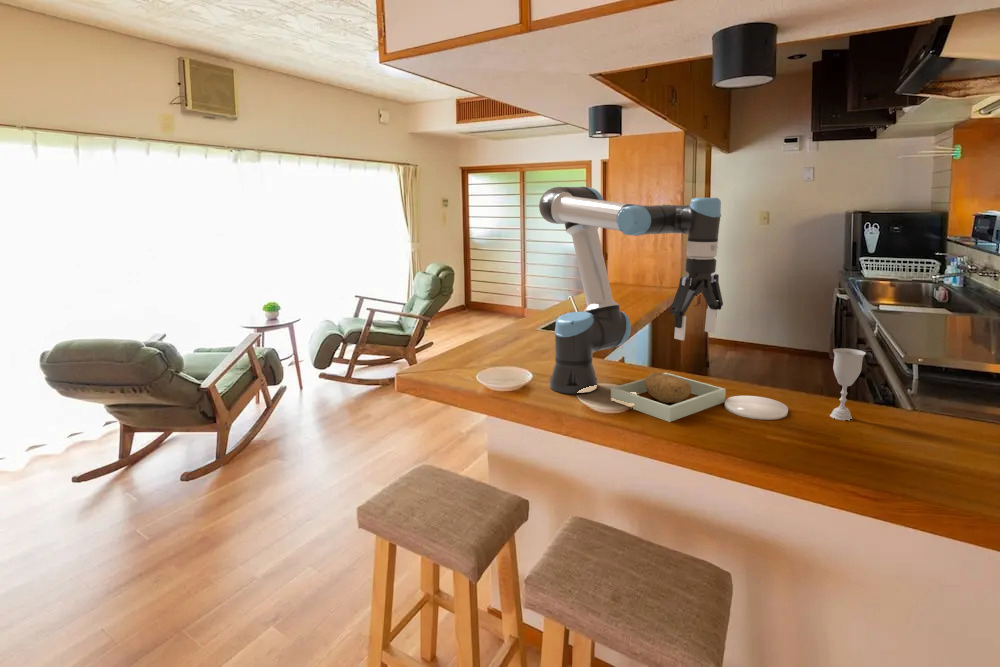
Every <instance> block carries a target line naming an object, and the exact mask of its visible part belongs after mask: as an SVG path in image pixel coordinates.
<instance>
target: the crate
mask: <svg viewBox="0 0 1000 667" xmlns="http://www.w3.org/2000/svg"><path fill="white" fill-rule="evenodd" d="M662 374H666V375H671V376H674V377H677V378H679V379H683V380H685V381H686V382H687V383H688V384H689V385H690V386H691V389H692V390H691V393H690V395H696V396H694V397H691V398H689V399H686V400H682V401H681V402H678V403H674V404H671V405H668V404H666V403H663V402H660V401H657V400H656V401H655V400H652V399H650V398H647V397H644V396H640V394H644V393H647V392H648V390H647V388H646V386H645V378H642V379H637V380H635V381H631V382H628V383H624V384H620V385H617V386H613V387H611V388H610V399H611V398H614V399H616V400H620V401H624V402H627V403H634V404H635V406H634V407H633V409H632V410H634V411H638V412H641V413H643V414H646V415H649V416H652V417H655V418H657V419H659V420H660V419H661V420H662V421H665V422H668V423H671V422H673V421H677V420H679V419H681V418H685V417H687V416H690V415H693V414H697V413H698V412H701V411H704V410H707V409H710V408H712V407H715V406H718V405H720V404H723V403H724V404H725V400H726V392H727V389H726V388H724V387H721V386H715V385H712V384H710V383H706V382H701V381H698V380H694V379H690V378H687V377H684V376H680V375H676V374H673V373H670V372H662ZM630 392H636V393H639V394H637V395H635V394H632V393H630Z"/></svg>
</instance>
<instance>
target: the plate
mask: <svg viewBox="0 0 1000 667" xmlns="http://www.w3.org/2000/svg"><path fill="white" fill-rule="evenodd" d="M724 408H725V410H727V411H728V412H729V413H731V414H734V415H737V416H739V417H743V418H747V419H751V420H752V419H753V420H761V421H762V420H763V421H764V420H765V421H767V420H768V421H771V420H779V419H784V418H786V417H787V416H788V414H789V413H788V412H789V407H788V406H787V405H786V404H785V403H783V402H781V401H778V400H775V399H772V398H769V397H764V396H757V395H734V396H730V397H728V398H725V402H724Z"/></svg>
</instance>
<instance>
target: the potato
mask: <svg viewBox="0 0 1000 667" xmlns="http://www.w3.org/2000/svg"><path fill="white" fill-rule="evenodd" d="M644 379H645V386H646V388H647V390H648V391H647V392H648V395H650V396H652V397H653V398H654V399H656V401H658V402H659V403H662V404H669V403H675V404H677V403H680V402H683V401H685V399H686V400H687V398H688V397H689V396H690V395H691V390H692V389H691V386H690V385H689V384H688V383H687V382H686V381H685V380H683V379H679V378H677V377H674V376H671V375H666V374H663V372H662V373H661V372H656V371H655V372H651V373H648V375H646V376H645V378H644Z"/></svg>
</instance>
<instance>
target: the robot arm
mask: <svg viewBox="0 0 1000 667" xmlns="http://www.w3.org/2000/svg"><path fill="white" fill-rule="evenodd" d="M689 203H690V204H687V205H685V204H684V205H681V204H680V205H679V204H676V205H675V204H661V205H659V204H657V205H641V204H633V203H632V204H631V203H625V202H618V201H611V200H604V197H603V196H602V195H601V193H600V192H599V191H598V190H596V189H595V188H592V187H587V186H555V187H551V188H549V189H547V190H546V191H545V192H544V193H543V194H542V196H541V197H540V200H539V205H538V209H539V213H540V215H541V217H542V218H543V219H544V220H545V221H547V222H549V223H550V224H556V225H558V224H559V225H564V227H565V231H566V233H567V234H569V235H570V236H571V238H572V242H573V248H574V253H575V257H576V261H577V265H578V269H579V275H580V280H581V284H582V289H583V294H584V299H585V303H586V307H585V308H584V310H583V311H573V312H567V313H564V314H561V315H560V316H558V317H557V319H556V321H555V328H554V335H555V336H554V337H555V344H554V345H555V347H554V348H555V350H554V353H555V354H554V355H555V357H554V358H555V359H554V361H555V363H554V366H553V370H552V374H551V376H550V378H549V388H550V389H551V390H552V391H555V392H557V393H562V394H568V395H577V394H576V393H577V392H578V391H579V390H581V389H583V388H586V387H589V386H594V385H597V386H598V381H599V380H598V378H597V376H596V372H595V368H594V365H593V353H594V352H599V351H602V350H607V349H615V348H617V347H619V346H623V345H624V344H625V343H627V341H628V340H629V338H630V335H631V330H632V323H631V319H630V317H629V315H627V314H626V312H624V311H623V310H621V309H620V304H619V303H617V302H616V301H615V300H614V299H613V294H612V290H611V289H612V288H611V286H610V285H611V284H610V281H609V276H608V271H607V266H606V263H605V258H604V254H603V249H602V248H603V247H602V244H601V240H600V235H599V228H601V229H607V230H612V231H619V232H622V234H623V235H626V236H633V237H635V236H636V237H637V236H642V235H643V236H644V235H661V234H684V235H687V245H686V256H687V258H686V260H685V272H686V273H688V277H684V276H683V277H680V278H679V283H678V287H677V291H676V293H675V296H674V298H673V301H672V304H671V307H670V310H669V314H672V315H673V316H674V337H673V338H674V339H675V340H679V341H685V338H686V326H687V324H686V323H687V316H686V315H685V314H686V313H687V311H688V309H689V307H690V305H691V304H692V302H693V300H694V298H695V297H696V296H697V295H699V294H702V295H703V297H704V300H705V302H706V304H707V306H708V308H706V313H705V324H704V332H705V333H709V334H710V333H711V334H716V326H717V325H716V323H717V314H718V311H720V310H722V306H724V302H723V298H722V297H723V296H722V292H721V287H720V284H719V283H720V282H719V274H717V273H716V268H717V260H716V257H717V255H718V243H719V233H720V232H719V230H720V222H721V217H722V213H721V210H722V206H721V205H722V201H721V199H720V198H718V197H693V198H691V200H690V202H689Z"/></svg>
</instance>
